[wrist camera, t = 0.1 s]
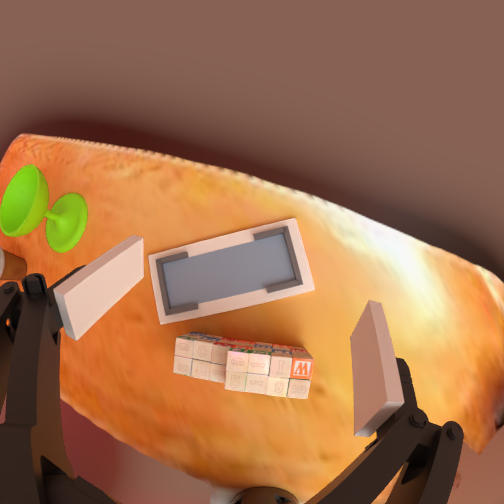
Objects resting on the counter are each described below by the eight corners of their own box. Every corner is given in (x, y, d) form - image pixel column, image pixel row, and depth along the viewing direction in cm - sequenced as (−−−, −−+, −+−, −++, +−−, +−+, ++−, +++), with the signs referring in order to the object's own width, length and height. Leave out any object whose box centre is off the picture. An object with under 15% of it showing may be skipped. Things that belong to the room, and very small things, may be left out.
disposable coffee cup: (25, 246, 58) (-4, 237, 46) (33, 274, 56) (1, 267, 44) (11, 265, 57) (-17, 258, 46) (18, 292, 55) (-12, 287, 44)
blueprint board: (314, 290, 49) (316, 289, 47) (161, 324, 50) (157, 325, 48) (295, 218, 52) (295, 215, 50) (149, 256, 53) (145, 254, 51)
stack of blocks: (189, 362, 49) (164, 376, 37) (192, 331, 50) (168, 337, 38) (300, 378, 46) (308, 400, 34) (305, 346, 47) (315, 359, 35)
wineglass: (59, 265, 55) (7, 252, 38) (40, 224, 58) (-5, 204, 41) (97, 219, 56) (47, 191, 39) (74, 181, 59) (31, 151, 42)
